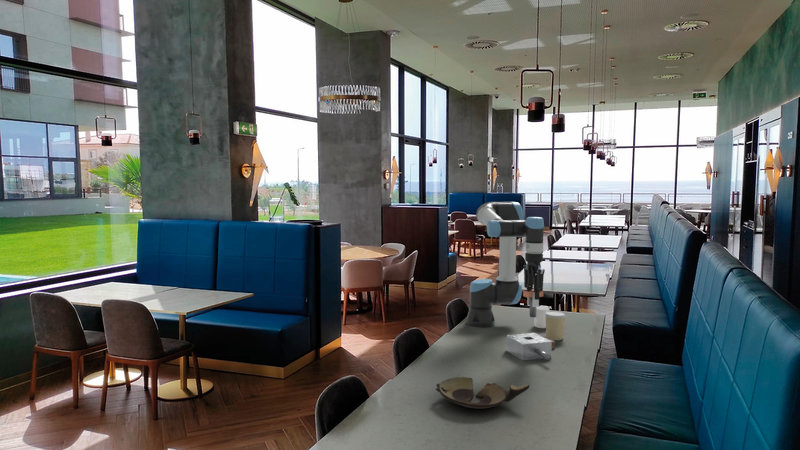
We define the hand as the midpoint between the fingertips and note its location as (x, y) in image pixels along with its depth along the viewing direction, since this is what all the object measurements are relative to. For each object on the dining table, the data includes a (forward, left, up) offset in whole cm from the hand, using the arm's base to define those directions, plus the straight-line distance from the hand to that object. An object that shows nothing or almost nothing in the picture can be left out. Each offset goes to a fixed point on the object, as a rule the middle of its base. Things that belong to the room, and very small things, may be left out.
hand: (532, 305), depth 235 cm
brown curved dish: (+44, -46, -21) cm, 68 cm away
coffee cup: (-17, +23, -21) cm, 35 cm away
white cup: (-37, +28, -21) cm, 51 cm away
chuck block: (+6, -2, -21) cm, 22 cm away
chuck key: (0, 0, -5) cm, 5 cm away
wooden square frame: (-7, +10, -21) cm, 24 cm away
